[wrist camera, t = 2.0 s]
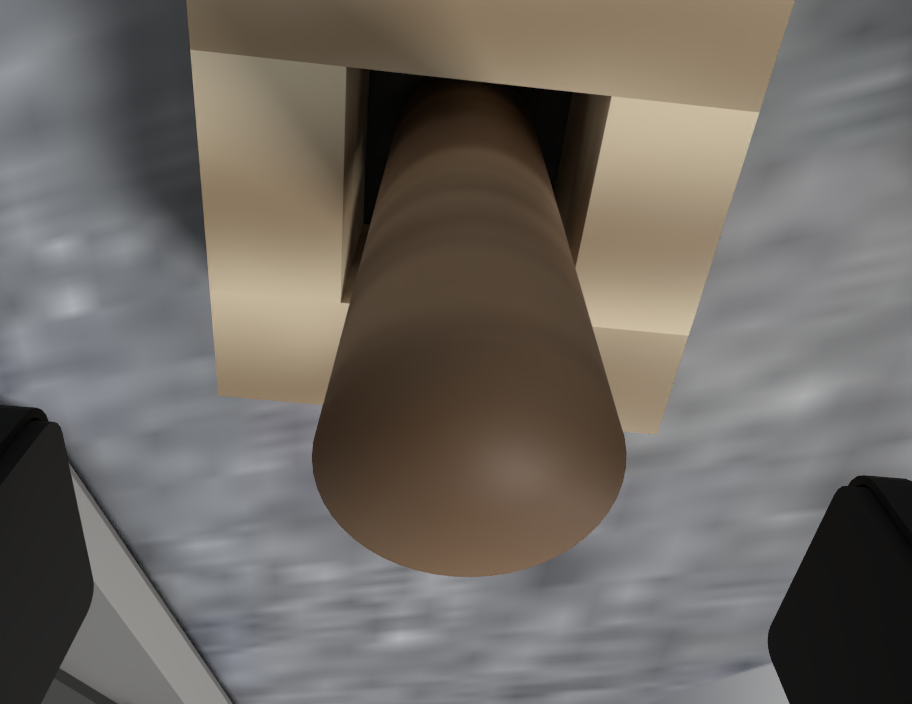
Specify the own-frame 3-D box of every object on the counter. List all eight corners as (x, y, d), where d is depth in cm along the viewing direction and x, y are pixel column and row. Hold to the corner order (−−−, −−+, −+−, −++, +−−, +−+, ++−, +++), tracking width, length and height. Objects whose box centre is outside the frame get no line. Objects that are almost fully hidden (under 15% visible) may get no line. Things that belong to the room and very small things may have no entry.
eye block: (243, -132, 18) (175, -136, 14) (732, -72, 18) (813, -58, 14) (261, 305, 24) (218, 395, 20) (624, 339, 25) (657, 434, 21)
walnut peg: (399, 61, 20) (311, 321, 8) (545, 77, 20) (661, 353, 9) (391, 201, 22) (311, 565, 11) (523, 215, 23) (591, 587, 11)
